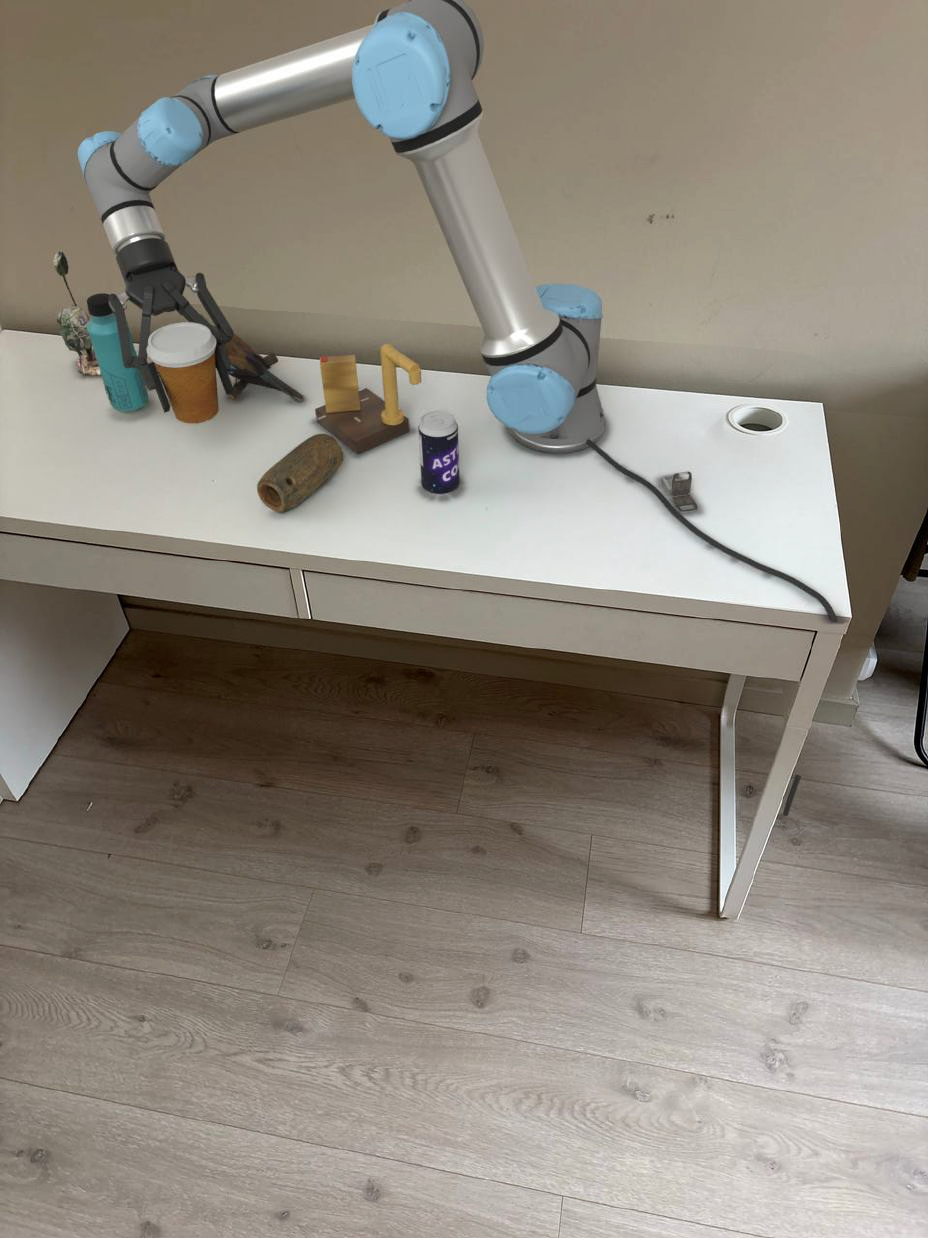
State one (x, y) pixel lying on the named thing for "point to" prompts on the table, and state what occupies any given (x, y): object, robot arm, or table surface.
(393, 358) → the tap spout
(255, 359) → the bird figurine
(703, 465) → the table surface
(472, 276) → the robot arm
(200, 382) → the disposable coffee cup
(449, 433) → the beverage can
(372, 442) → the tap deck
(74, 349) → the plant with pod
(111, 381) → the beverage bottle
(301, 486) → the brown cylindrical piece
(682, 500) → the strap clip
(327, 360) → the tap handle
